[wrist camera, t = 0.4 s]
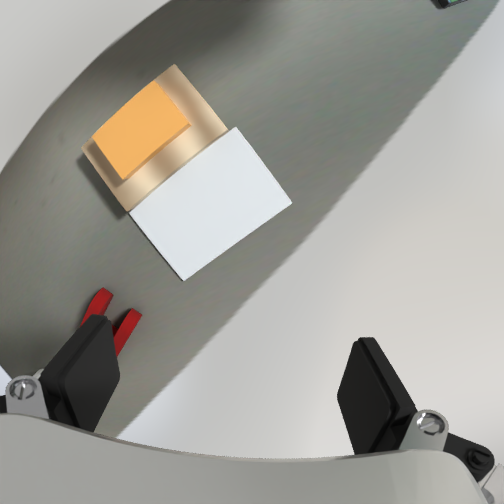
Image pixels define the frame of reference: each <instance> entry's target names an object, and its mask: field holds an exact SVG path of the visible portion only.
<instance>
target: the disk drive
mask: <svg viewBox="0 0 504 504" xmlns="http://www.w3.org/2000/svg"><path fill="white" fill-rule="evenodd" d="M438 1H439V3H440V4H441V5H442V6H443V8H447V7H450V6H453V5H455V4H458V3H461V2H464V1H467V0H438Z"/></svg>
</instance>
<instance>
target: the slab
mask: <svg viewBox="0 0 504 504" xmlns="http://www.w3.org/2000/svg"><path fill="white" fill-rule="evenodd" d="M191 126H192V125H191V124H190V122H189V121H188V120H187V119H186V117H185V116H184V115H183V113H182V112H181V111H180V110H179V108H178V107H177V106H176V105H175V103H174V102H173V101H172V100H171V98H170V97H169V96H168V95H167V93H166V92H165V91H164V90H163V88H162V87H161V86H160V85H159V84H158V83H157V82H156V81H154V80H153V81H152V82H151V83H150V84H148V85H147V86H146V87H145V88H144V89H142V90H141V91H140V92H139V93H138V94H137V95H135V96H134V97H133V98H132V99H131V100H130V101H129V102H127V103H126V104H125V105H124V106H123V107H122V108H121V109H120V110H119V111H118V112H116V113H115V114H114V115H113V116H112V117H111V118H110V119H109V120H108V121H107V122H106V123H105V124H104V125H103V126H102V127H101V128H100V129H99V130H98V131H97V132H96V133H95V134H94V135H93V136H92V138H93V139H94V141H95V142H96V144H97V145H98V146H99V148H100V149H101V151H102V152H103V153H104V155H105V156H106V158H107V159H108V160H109V162H110V163H111V165H112V166H113V167H114V169H115V170H116V171H117V173H118V174H119V176H120V177H121V178H122V180H123V179H129V178H130V177H131V176H133V175H134V174H135V173H136V172H137V171H138V170H139V169H140V168H141V167H143V166H144V165H145V164H146V163H147V162H148V161H149V160H151V159H152V158H153V157H154V156H155V155H156V154H157V153H159V152H160V151H161V150H162V149H163V148H165V147H166V146H167V145H168V144H169V143H171V142H172V141H173V140H174V139H176V138H177V137H178V136H179V135H181V134H182V133H183V132H184V131H186V130H187V129H188V128H189V127H191Z"/></svg>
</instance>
